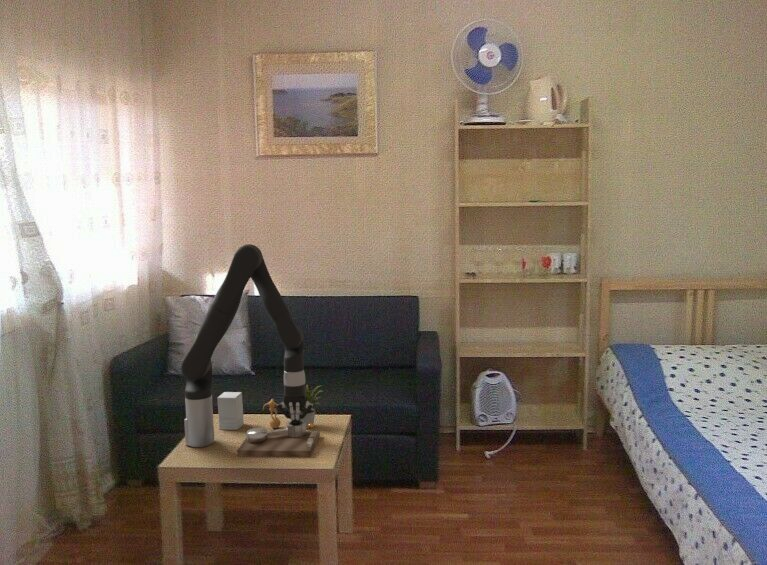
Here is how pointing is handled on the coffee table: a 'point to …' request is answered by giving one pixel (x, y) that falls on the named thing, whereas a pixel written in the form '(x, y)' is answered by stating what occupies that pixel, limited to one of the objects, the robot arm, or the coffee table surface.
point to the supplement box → (230, 410)
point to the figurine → (274, 421)
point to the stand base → (281, 446)
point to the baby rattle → (277, 432)
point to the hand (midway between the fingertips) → (296, 429)
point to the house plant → (311, 414)
